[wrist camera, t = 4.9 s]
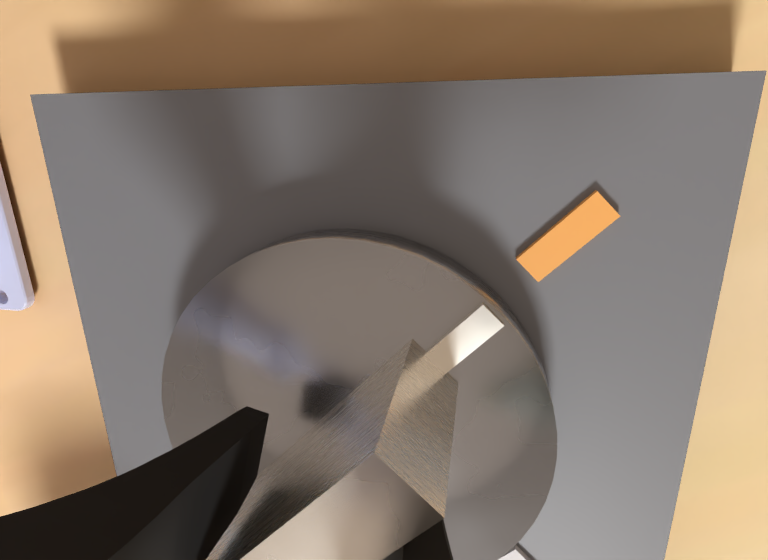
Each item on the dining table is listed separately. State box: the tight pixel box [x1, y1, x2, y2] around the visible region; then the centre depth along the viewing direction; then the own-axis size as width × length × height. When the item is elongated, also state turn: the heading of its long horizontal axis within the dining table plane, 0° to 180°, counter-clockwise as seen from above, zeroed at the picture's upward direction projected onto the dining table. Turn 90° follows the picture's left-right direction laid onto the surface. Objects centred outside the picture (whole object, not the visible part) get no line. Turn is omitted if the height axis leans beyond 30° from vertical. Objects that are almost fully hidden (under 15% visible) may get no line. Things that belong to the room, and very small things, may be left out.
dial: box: [162, 229, 557, 560], centre depth 12 cm, size 11×11×6 cm
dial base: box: [30, 71, 766, 560], centre depth 15 cm, size 18×18×2 cm
